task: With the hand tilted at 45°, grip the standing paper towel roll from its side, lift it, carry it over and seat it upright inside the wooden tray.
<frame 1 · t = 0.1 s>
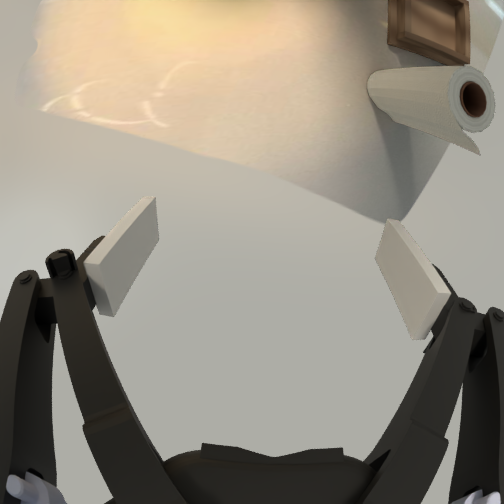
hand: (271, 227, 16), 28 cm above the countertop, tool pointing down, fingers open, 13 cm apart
paper towel roll: (383, 92, 34), on the countertop
wooden tray: (427, 20, 26), on the countertop
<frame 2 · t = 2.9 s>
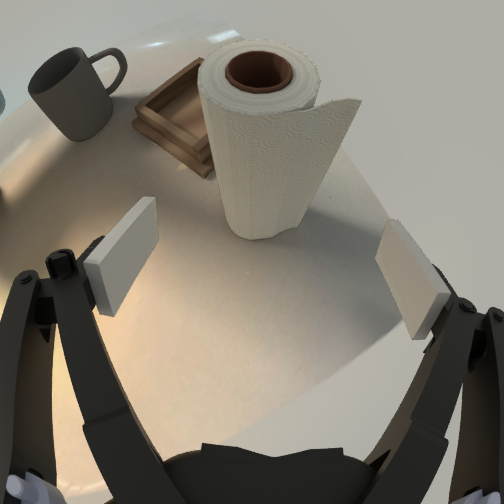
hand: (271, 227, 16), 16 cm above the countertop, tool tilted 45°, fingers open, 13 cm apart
mug: (101, 111, 37), on the countertop
paper towel roll: (256, 219, 33), on the countertop
wooden tray: (202, 115, 36), on the countertop
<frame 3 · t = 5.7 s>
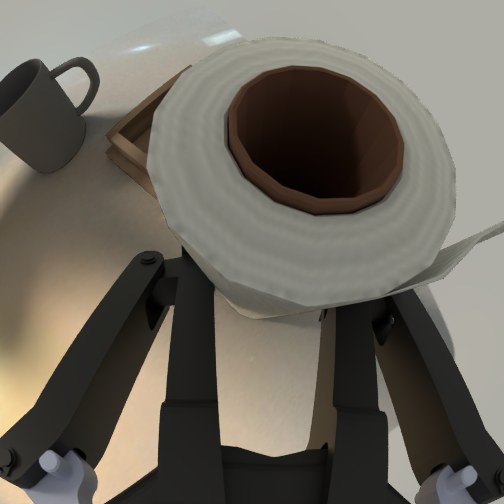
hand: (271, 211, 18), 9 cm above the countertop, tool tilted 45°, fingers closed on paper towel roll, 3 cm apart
mug: (73, 135, 29), on the countertop
paper towel roll: (262, 289, 25), on the countertop, touching gripper
wooden tray: (193, 142, 28), on the countertop
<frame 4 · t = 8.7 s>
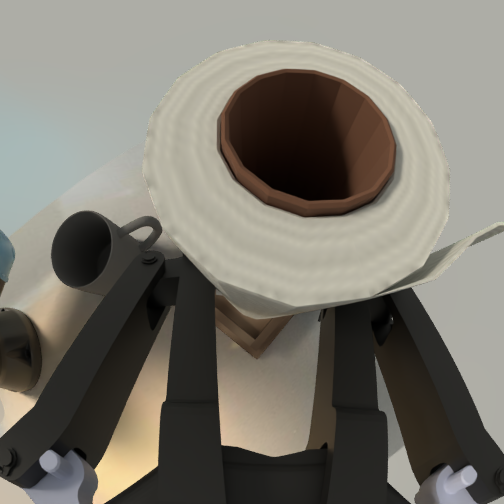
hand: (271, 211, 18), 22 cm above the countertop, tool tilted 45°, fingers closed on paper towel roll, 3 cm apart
mug: (135, 260, 40), on the countertop
paper towel roll: (265, 290, 25), point 14 cm above the countertop, touching gripper
wooden tray: (249, 285, 39), on the countertop
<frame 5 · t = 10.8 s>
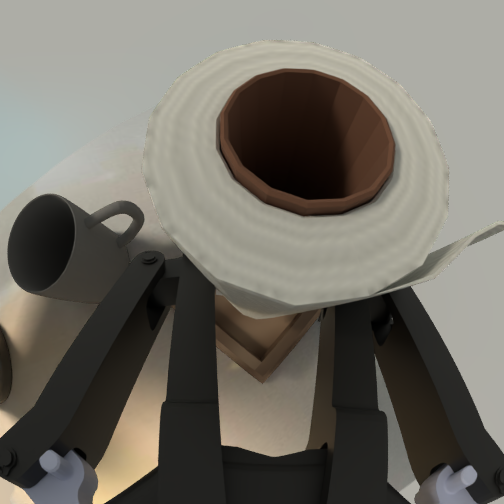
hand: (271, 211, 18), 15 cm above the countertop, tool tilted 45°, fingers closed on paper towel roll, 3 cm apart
mug: (113, 258, 32), on the countertop
paper towel roll: (265, 290, 25), point 6 cm above the countertop, touching gripper
wooden tray: (254, 291, 31), on the countertop
when the fingers open (11 cm above the countertop, at t = 11.9 s): paper towel roll drops 1 cm, resting on wooden tray.
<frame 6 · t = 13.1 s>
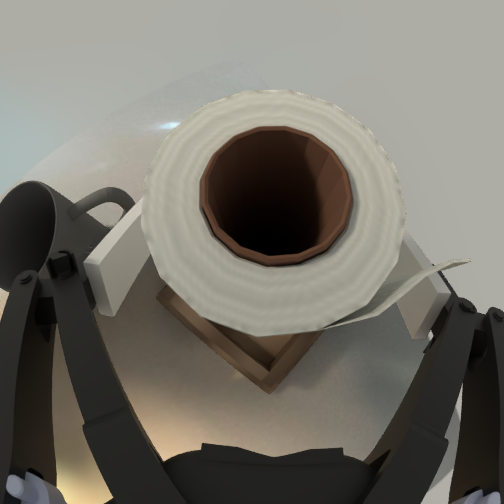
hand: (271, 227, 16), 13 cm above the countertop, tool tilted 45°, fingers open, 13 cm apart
mug: (104, 255, 29), on the countertop
paper towel roll: (263, 291, 27), point 1 cm above the countertop, touching wooden tray
wooden tray: (259, 291, 28), on the countertop
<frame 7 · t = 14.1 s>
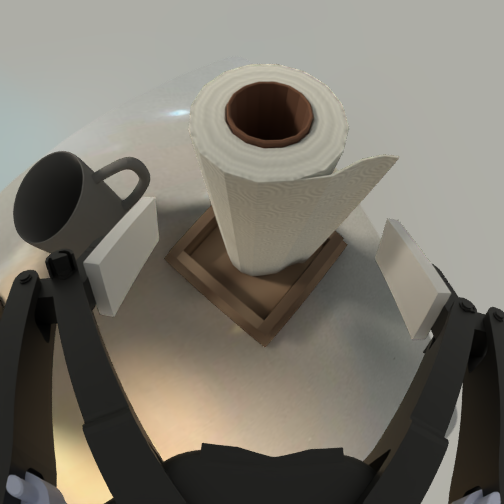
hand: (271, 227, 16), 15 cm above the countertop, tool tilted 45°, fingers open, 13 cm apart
mug: (117, 224, 32), on the countertop
paper towel roll: (259, 253, 31), point 1 cm above the countertop, touching wooden tray
wooden tray: (256, 253, 31), on the countertop
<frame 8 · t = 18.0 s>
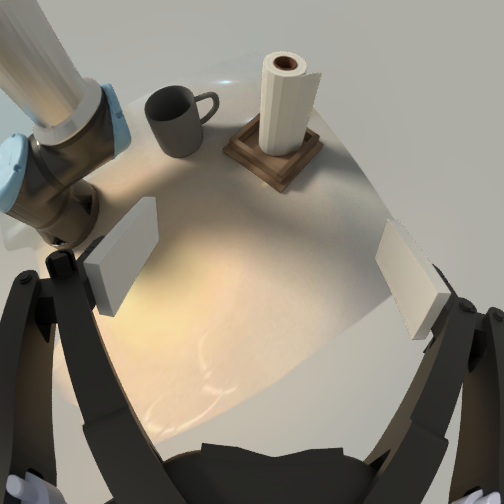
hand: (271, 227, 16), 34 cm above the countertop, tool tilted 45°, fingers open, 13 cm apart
mug: (191, 136, 56), on the countertop
paper towel roll: (276, 146, 54), point 1 cm above the countertop, touching wooden tray
wooden tray: (274, 148, 55), on the countertop
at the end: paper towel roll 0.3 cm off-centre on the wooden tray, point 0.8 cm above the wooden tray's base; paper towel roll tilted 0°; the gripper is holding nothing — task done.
